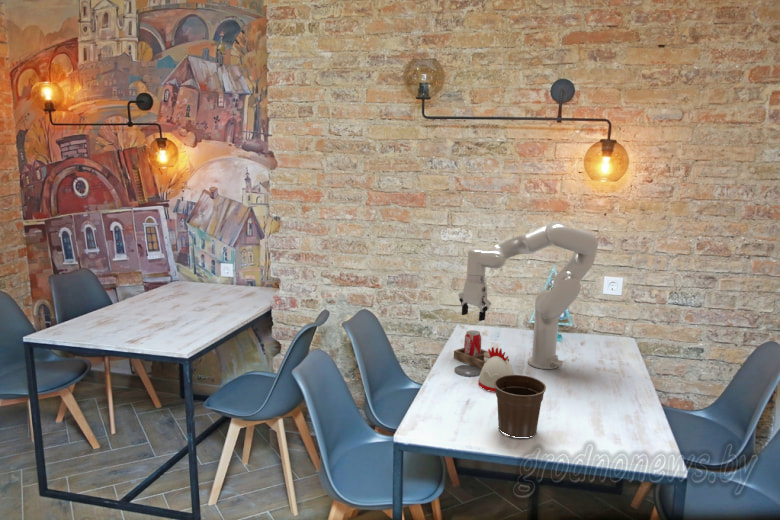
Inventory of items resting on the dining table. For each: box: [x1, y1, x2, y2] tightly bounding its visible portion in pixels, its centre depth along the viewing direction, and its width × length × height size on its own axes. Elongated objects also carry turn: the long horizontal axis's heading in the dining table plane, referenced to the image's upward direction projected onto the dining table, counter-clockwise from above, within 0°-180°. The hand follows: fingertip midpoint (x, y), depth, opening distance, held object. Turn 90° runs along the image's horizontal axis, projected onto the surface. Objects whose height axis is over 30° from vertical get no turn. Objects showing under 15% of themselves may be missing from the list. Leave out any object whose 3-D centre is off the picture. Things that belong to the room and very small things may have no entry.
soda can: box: [463, 329, 482, 357], centre depth 256 cm, size 7×7×12 cm
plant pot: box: [494, 374, 547, 437], centre depth 194 cm, size 16×16×16 cm
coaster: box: [453, 364, 481, 378], centre depth 244 cm, size 11×11×1 cm
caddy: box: [453, 347, 510, 370], centre depth 253 cm, size 21×11×4 cm, turn 40°
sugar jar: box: [484, 352, 491, 362], centre depth 249 cm, size 5×5×6 cm
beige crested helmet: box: [478, 346, 515, 393], centre depth 230 cm, size 14×14×15 cm
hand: (473, 317), depth 253 cm, fingers open, 9 cm apart
